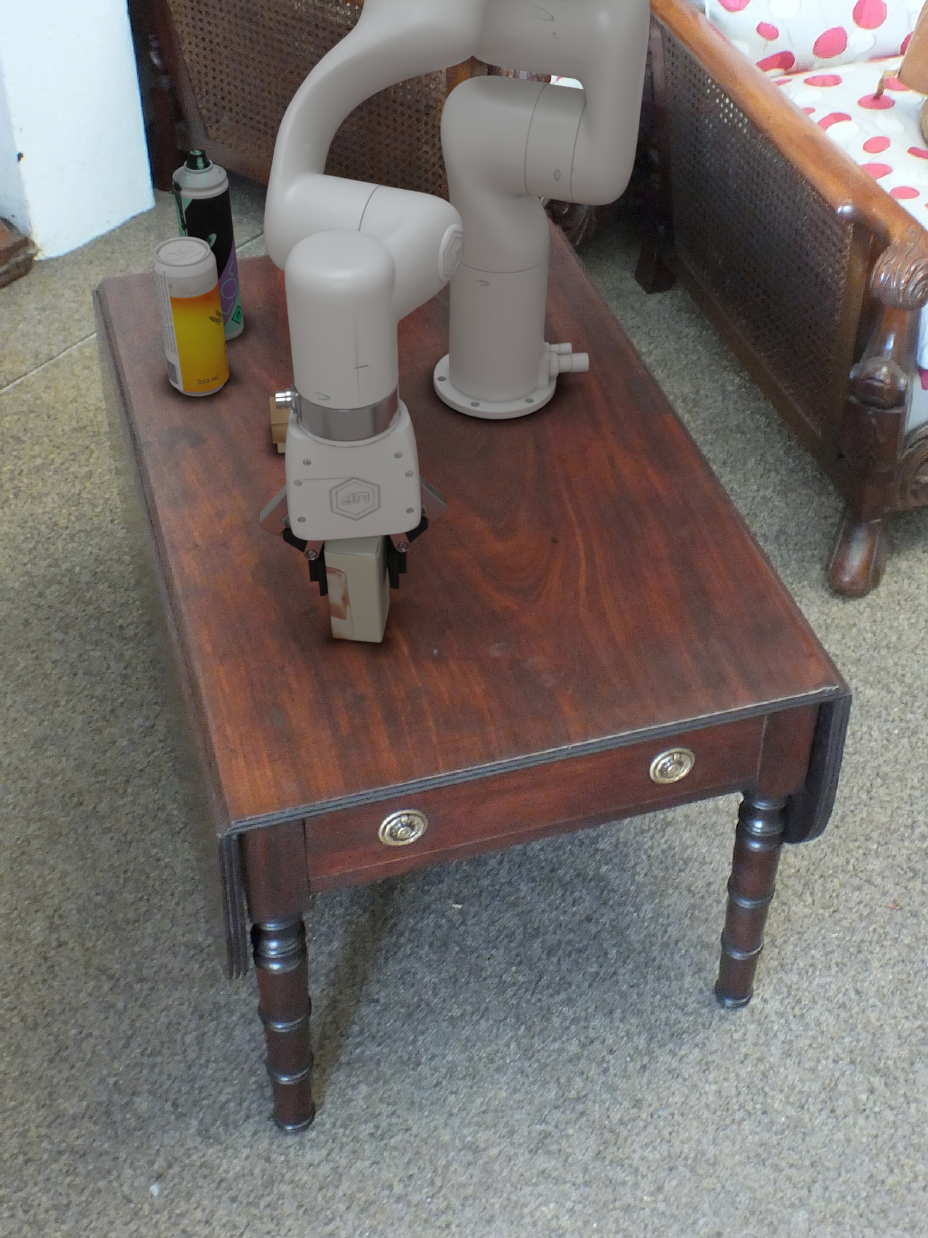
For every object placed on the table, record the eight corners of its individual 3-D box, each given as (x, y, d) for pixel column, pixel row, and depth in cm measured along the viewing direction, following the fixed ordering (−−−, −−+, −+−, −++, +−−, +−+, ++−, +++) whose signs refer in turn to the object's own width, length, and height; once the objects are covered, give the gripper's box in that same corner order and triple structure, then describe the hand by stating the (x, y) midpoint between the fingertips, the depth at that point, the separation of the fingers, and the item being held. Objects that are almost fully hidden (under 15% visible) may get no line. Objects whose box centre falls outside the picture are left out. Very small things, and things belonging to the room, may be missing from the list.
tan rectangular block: (393, 419, 138) (392, 378, 134) (397, 446, 135) (396, 404, 131) (272, 428, 136) (268, 386, 133) (274, 455, 133) (269, 412, 130)
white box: (340, 597, 119) (334, 508, 111) (391, 602, 118) (388, 513, 111) (329, 640, 115) (321, 551, 108) (381, 645, 115) (377, 556, 108)
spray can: (222, 347, 147) (200, 169, 133) (182, 332, 149) (156, 155, 135) (254, 324, 150) (236, 148, 136) (214, 309, 152) (193, 134, 138)
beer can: (242, 381, 142) (227, 250, 132) (195, 406, 139) (176, 273, 128) (204, 358, 145) (187, 228, 135) (158, 382, 142) (136, 250, 131)
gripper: (230, 441, 97) (255, 622, 110) (471, 422, 99) (467, 603, 112) (228, 378, 102) (252, 559, 115) (457, 362, 104) (455, 541, 117)
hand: (358, 579), depth 113 cm, fingers closed on white box, 5 cm apart
